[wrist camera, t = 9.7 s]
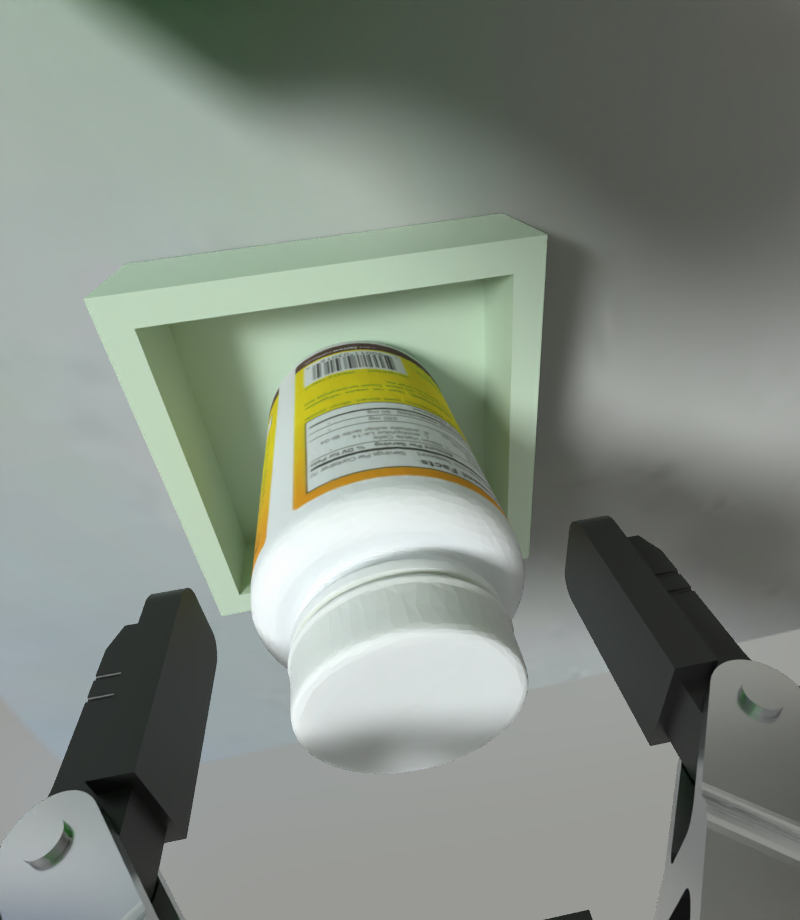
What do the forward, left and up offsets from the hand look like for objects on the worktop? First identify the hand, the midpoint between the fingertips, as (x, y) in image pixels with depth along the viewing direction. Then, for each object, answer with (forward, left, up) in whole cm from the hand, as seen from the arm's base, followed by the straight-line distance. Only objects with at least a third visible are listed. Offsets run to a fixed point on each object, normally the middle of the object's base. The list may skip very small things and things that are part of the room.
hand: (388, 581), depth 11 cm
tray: (0, 0, -8) cm, 8 cm away
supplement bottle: (0, 0, -7) cm, 7 cm away
